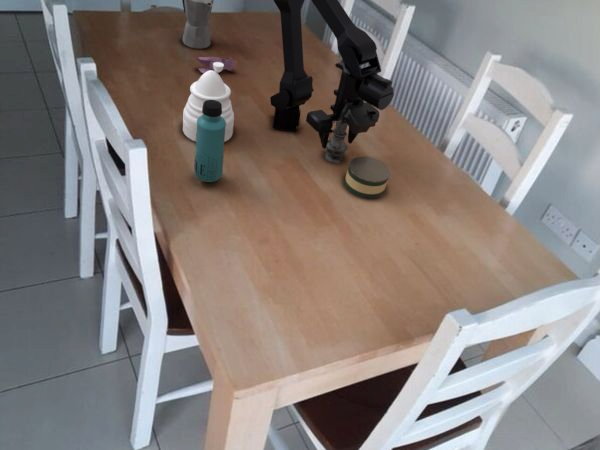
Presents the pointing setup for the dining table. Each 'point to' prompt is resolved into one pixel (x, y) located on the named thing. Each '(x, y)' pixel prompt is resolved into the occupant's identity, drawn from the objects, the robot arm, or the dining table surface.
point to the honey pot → (202, 91)
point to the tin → (367, 177)
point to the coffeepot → (197, 23)
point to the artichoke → (210, 60)
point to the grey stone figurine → (337, 144)
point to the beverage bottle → (210, 142)
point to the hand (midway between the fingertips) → (336, 145)
